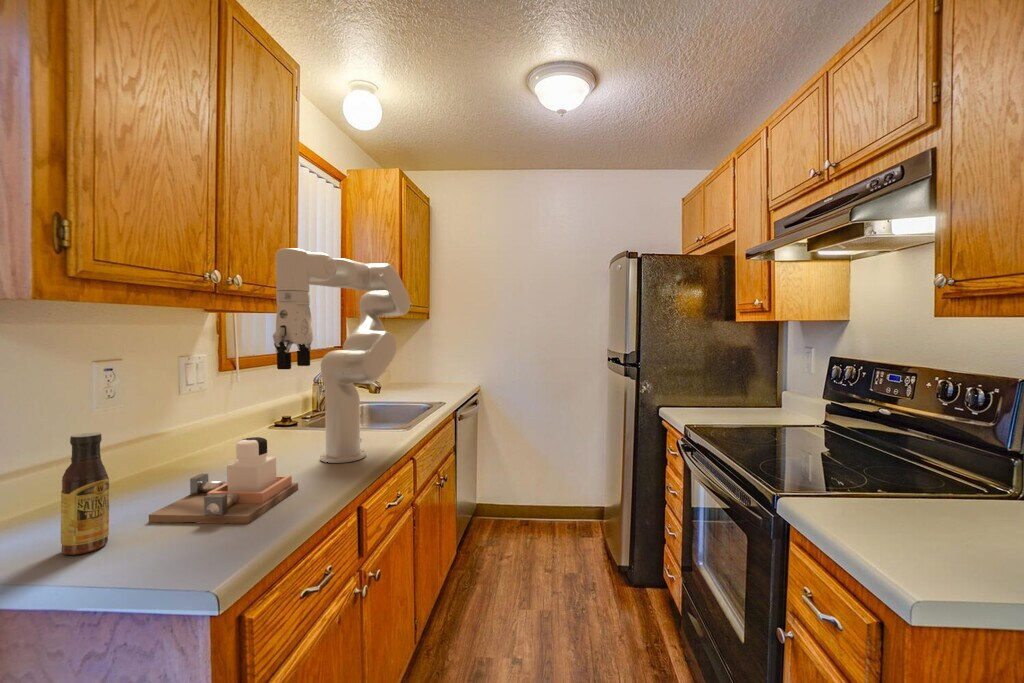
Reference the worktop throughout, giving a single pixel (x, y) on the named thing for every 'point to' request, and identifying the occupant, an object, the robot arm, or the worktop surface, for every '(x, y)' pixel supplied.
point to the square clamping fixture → (223, 502)
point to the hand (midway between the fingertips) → (294, 367)
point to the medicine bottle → (251, 467)
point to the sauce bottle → (84, 497)
